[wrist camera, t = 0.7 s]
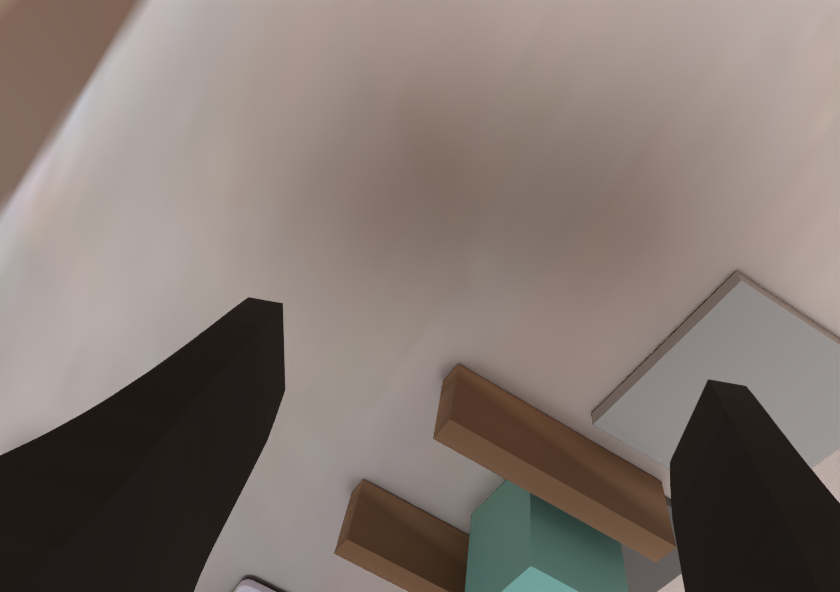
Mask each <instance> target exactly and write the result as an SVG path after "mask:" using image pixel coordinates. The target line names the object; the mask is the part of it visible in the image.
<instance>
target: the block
mask: <svg viewBox="0 0 840 592" xmlns="http://www.w3.org/2000/svg"><path fill="white" fill-rule="evenodd" d="M465 592H628V587H627V580H626V573H625V566H624V560H623V553H622V546H621V543H620V542H618V541H616V540H615V539H613V538H611V537H609V536H607V535H606V534H604V533H602V532H600V531H598V530H597V529H595V528H593V527H591V526H589V525H588V524H586V523H584V522H582V521H580V520H579V519H577V518H575V517H573V516H571V515H570V514H568V513H566V512H564V511H562V510H561V509H559V508H557V507H555V506H553V505H552V504H550V503H548V502H546V501H544V500H543V499H541V498H539V497H537V496H535V495H534V494H532V493H530V492H528V491H526V490H525V489H523V488H521V487H519V486H517V485H516V484H514V483H512V482H510V481H508V480H506V481H505V482H504V483H503V484H502V485H501V486H500V487H499V488H498V489H497V490H496V491H495V492H494V493H493V494H492V495H491V496H490V497H489V498H488V499H487V500H486V501H485V502H484V503H483V504H482V505H481V506H480V507H479V508H478V509H477V510H476V511H475V512H474V513H473V514H472V515H471V526H470V537H469V549H468V560H467V572H466V583H465Z"/></svg>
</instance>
